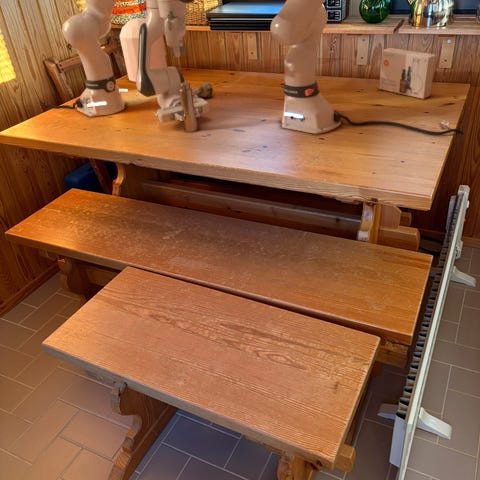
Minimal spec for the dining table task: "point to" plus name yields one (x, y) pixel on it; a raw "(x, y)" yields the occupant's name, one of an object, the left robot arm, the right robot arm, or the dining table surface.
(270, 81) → the dining table surface
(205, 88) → the rock
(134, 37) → the container
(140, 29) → the left robot arm
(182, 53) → the lid
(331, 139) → the dining table surface
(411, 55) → the skincare box
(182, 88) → the brown cylinder
